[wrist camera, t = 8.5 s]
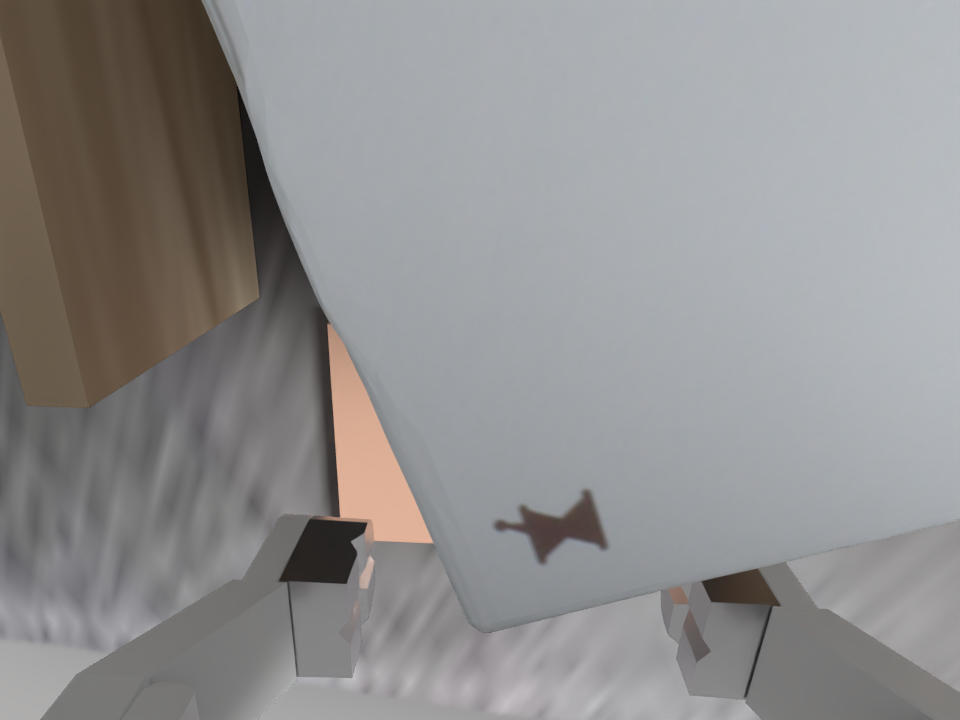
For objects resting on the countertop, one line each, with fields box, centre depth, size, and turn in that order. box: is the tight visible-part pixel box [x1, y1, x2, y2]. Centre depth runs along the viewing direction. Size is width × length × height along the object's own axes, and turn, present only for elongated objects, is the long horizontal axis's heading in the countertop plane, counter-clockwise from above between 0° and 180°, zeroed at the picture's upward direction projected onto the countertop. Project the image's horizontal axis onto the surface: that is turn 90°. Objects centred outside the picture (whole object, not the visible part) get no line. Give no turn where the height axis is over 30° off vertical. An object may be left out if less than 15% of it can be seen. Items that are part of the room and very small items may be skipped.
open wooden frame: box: [0, 0, 260, 408], centre depth 10 cm, size 16×10×7 cm, turn 88°
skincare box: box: [202, 0, 960, 633], centre depth 8 cm, size 6×4×12 cm
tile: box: [327, 322, 433, 543], centre depth 17 cm, size 10×7×1 cm
